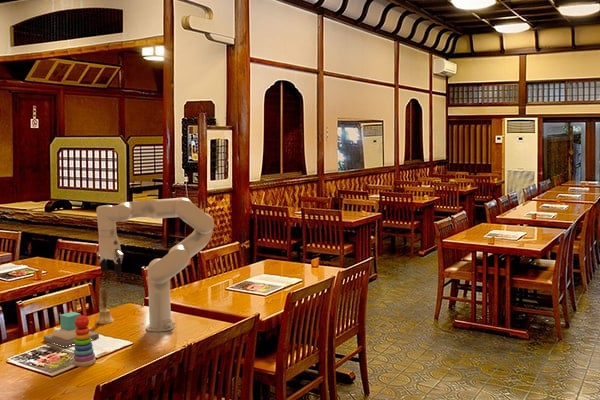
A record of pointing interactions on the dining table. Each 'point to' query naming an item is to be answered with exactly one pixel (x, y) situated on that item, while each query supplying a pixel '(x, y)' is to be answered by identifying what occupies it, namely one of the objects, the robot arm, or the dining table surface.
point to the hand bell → (104, 311)
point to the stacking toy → (83, 343)
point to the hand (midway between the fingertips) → (111, 271)
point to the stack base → (66, 342)
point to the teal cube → (68, 320)
